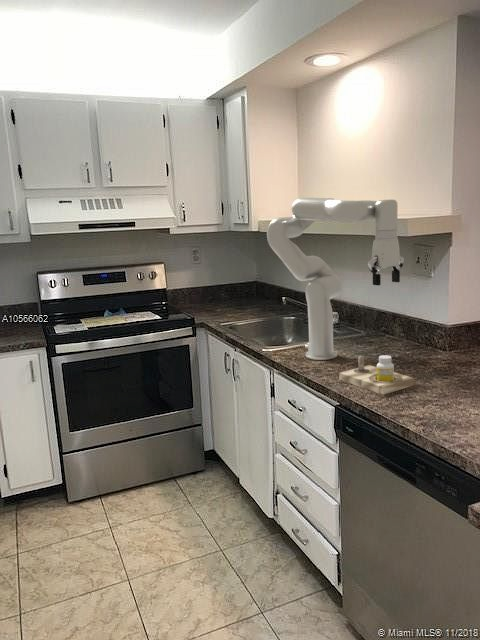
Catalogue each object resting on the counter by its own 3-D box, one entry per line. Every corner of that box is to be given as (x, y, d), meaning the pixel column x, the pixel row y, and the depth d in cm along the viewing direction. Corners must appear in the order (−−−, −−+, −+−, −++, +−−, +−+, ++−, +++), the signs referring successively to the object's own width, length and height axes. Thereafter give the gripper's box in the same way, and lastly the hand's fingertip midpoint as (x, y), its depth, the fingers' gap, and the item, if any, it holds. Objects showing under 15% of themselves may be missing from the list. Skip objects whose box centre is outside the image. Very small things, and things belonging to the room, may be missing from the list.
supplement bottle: (381, 382, 173) (381, 353, 171) (396, 384, 170) (396, 355, 168) (373, 386, 169) (373, 357, 167) (389, 389, 166) (389, 359, 164)
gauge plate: (339, 379, 178) (338, 358, 176) (368, 371, 185) (368, 351, 184) (383, 394, 161) (383, 371, 160) (413, 385, 168) (413, 363, 167)
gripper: (395, 233, 190) (395, 280, 194) (360, 237, 182) (361, 285, 185) (411, 233, 184) (411, 281, 187) (376, 237, 175) (376, 287, 179)
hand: (386, 283), depth 186 cm, fingers open, 9 cm apart
